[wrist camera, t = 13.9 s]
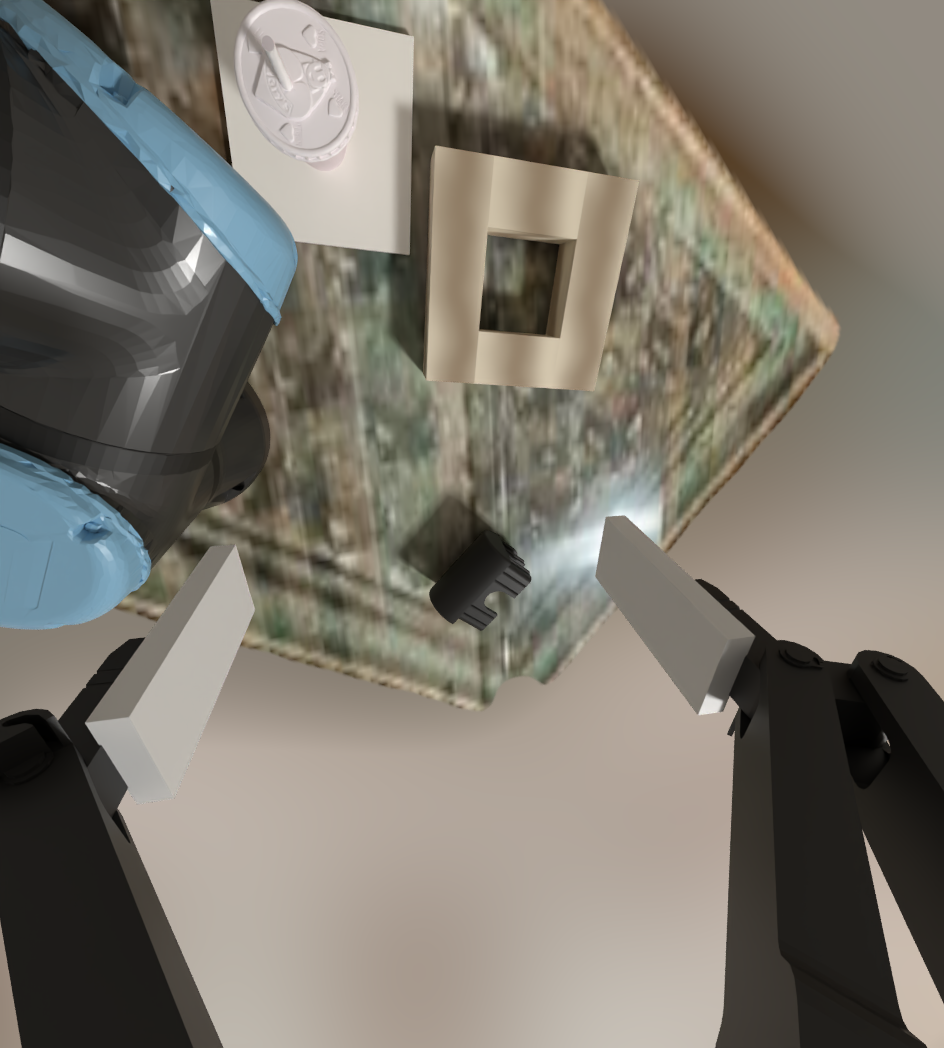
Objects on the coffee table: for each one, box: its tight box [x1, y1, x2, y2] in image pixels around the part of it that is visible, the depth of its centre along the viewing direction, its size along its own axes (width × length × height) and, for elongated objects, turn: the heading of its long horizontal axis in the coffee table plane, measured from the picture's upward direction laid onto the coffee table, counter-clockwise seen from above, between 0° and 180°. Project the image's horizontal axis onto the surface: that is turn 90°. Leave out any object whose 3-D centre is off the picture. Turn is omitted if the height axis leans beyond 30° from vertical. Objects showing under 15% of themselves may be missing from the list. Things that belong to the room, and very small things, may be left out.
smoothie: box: [234, 0, 359, 171], centre depth 25 cm, size 6×6×14 cm
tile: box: [210, 0, 414, 255], centre depth 32 cm, size 13×13×1 cm
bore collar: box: [423, 145, 639, 391], centre depth 37 cm, size 16×16×4 cm
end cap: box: [429, 530, 531, 631], centre depth 49 cm, size 10×7×7 cm
